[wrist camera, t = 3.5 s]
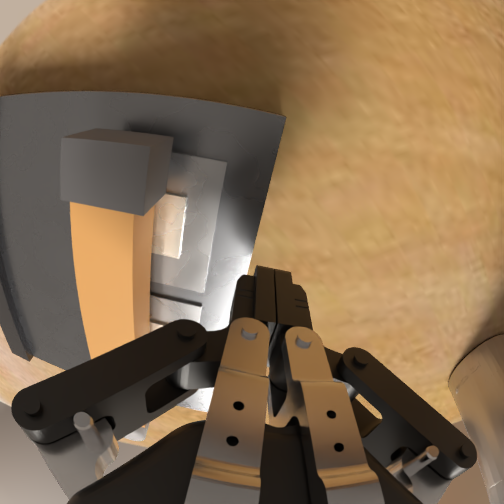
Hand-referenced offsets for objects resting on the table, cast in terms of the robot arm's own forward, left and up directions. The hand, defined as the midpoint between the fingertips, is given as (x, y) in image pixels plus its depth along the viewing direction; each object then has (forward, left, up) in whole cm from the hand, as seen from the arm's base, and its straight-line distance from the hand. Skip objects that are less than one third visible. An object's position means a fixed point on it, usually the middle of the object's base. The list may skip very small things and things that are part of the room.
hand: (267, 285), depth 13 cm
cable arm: (+7, +5, -1) cm, 9 cm away
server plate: (+11, +4, -5) cm, 13 cm away
